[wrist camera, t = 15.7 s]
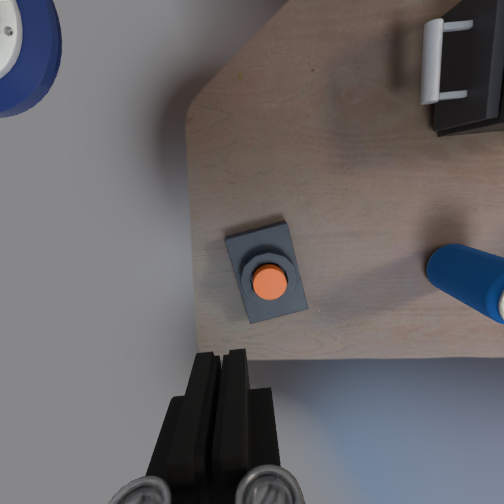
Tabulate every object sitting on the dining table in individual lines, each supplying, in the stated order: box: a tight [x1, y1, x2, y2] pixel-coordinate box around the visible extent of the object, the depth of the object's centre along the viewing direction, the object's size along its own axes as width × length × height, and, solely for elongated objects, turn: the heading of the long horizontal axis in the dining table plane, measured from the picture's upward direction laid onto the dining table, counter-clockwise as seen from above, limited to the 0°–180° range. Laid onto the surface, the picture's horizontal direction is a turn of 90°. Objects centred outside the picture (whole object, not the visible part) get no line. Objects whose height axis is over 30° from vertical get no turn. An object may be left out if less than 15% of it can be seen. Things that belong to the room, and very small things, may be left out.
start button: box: [253, 264, 287, 300], centre depth 35 cm, size 4×4×2 cm
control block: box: [225, 221, 308, 324], centre depth 38 cm, size 12×8×4 cm, turn 15°
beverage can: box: [427, 244, 504, 324], centre depth 34 cm, size 6×6×12 cm
